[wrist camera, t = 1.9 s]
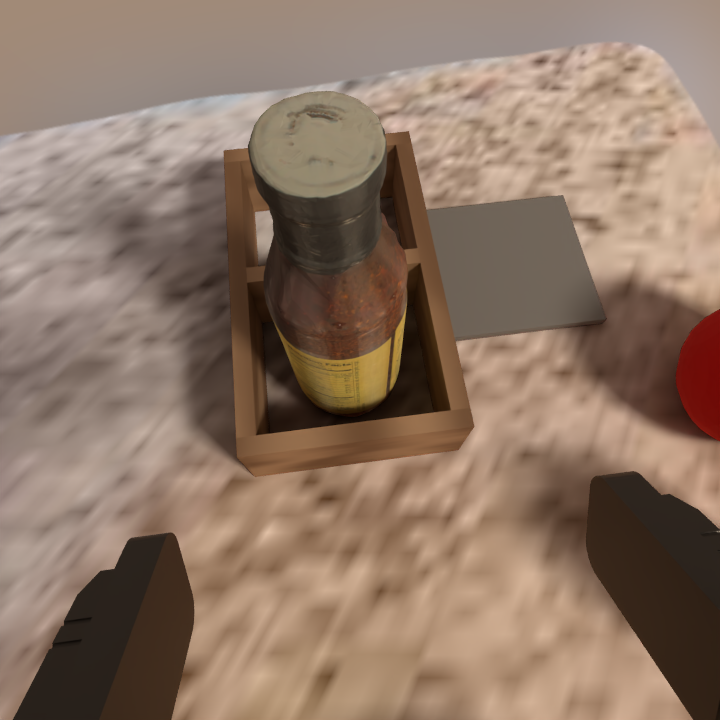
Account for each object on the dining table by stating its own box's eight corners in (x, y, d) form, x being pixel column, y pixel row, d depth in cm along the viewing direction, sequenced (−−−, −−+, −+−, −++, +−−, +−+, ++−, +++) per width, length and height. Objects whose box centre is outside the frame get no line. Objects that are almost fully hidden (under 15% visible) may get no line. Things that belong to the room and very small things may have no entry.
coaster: (451, 341, 35) (452, 337, 34) (424, 216, 39) (424, 210, 38) (602, 323, 35) (606, 318, 35) (560, 200, 39) (563, 195, 38)
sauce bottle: (343, 312, 36) (323, 19, 17) (418, 370, 34) (482, 114, 16) (274, 383, 34) (167, 137, 15) (349, 447, 32) (330, 259, 14)
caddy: (255, 476, 31) (236, 457, 27) (240, 202, 39) (223, 150, 34) (458, 450, 32) (474, 426, 27) (403, 184, 40) (408, 131, 35)
